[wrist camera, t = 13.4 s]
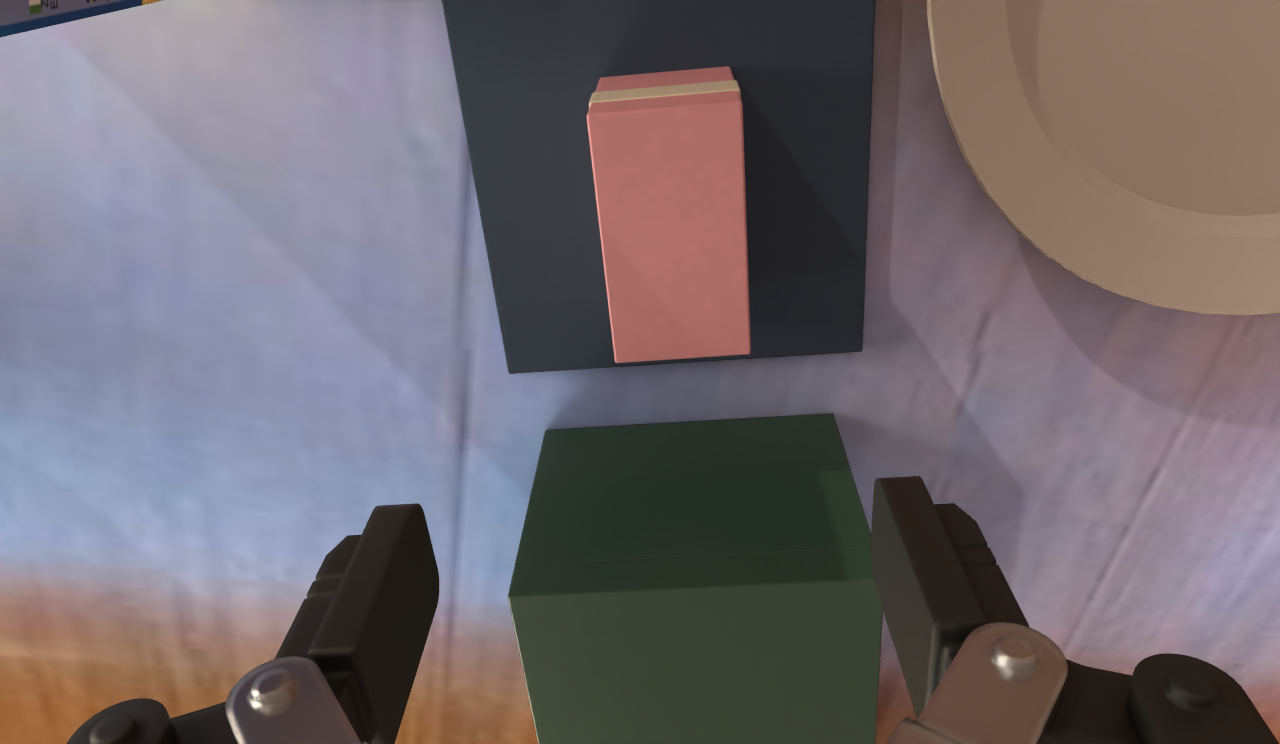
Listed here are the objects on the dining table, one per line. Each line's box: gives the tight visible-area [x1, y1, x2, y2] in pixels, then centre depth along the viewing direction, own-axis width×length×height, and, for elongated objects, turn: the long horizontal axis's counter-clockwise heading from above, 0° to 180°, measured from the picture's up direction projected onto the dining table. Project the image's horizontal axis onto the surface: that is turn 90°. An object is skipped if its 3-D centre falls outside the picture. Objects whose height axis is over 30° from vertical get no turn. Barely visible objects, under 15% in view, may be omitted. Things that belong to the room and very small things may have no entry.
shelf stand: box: [508, 413, 883, 744], centre depth 36 cm, size 12×16×10 cm
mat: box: [442, 0, 875, 374], centre depth 32 cm, size 14×14×1 cm
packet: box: [587, 66, 751, 363], centre depth 29 cm, size 4×8×6 cm, turn 5°
